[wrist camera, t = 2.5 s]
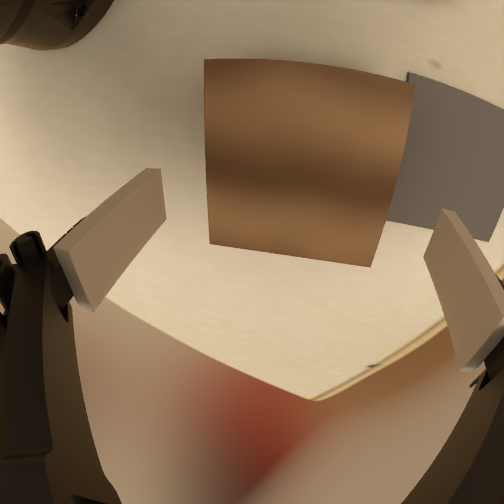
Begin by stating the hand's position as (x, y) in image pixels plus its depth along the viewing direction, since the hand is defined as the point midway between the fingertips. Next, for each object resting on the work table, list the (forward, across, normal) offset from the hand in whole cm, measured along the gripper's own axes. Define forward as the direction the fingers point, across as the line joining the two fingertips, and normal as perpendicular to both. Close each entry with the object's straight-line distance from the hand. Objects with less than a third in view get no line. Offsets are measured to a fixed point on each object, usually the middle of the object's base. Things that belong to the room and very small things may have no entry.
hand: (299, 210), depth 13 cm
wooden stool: (+14, 0, 0) cm, 14 cm away
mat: (+14, +15, 0) cm, 20 cm away
